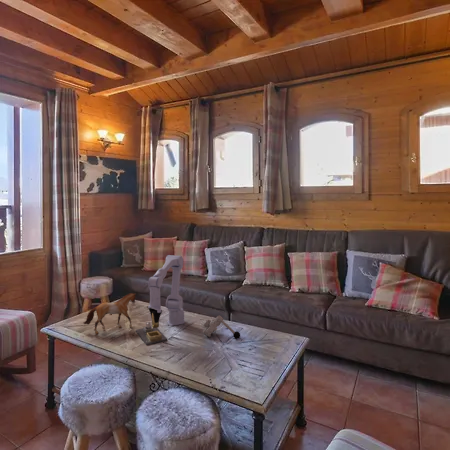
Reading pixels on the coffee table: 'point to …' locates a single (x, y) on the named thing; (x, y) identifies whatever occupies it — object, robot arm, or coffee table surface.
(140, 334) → the plate
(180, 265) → the robot arm
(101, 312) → the horse figurine
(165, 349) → the coffee table surface
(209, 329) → the valve
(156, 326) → the brass fitting
